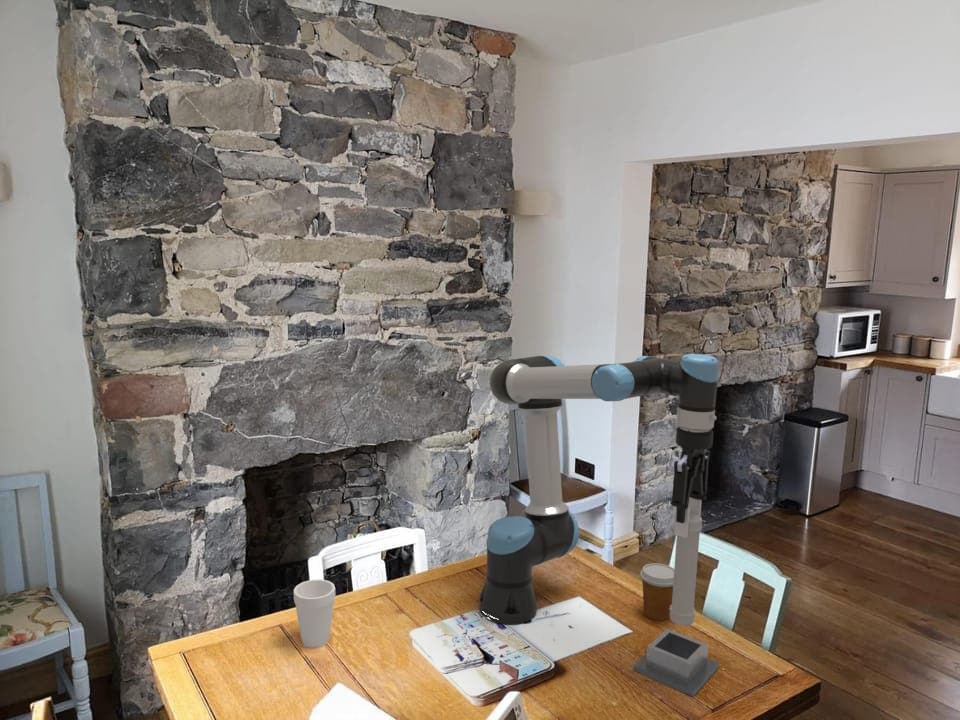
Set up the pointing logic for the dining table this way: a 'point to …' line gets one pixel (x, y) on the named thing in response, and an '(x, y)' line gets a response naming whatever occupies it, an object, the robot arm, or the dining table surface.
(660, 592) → the disposable coffee cup
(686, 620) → the pipe
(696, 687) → the pipe socket
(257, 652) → the dining table surface
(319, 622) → the foam cup
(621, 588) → the dining table surface
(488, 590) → the robot arm
